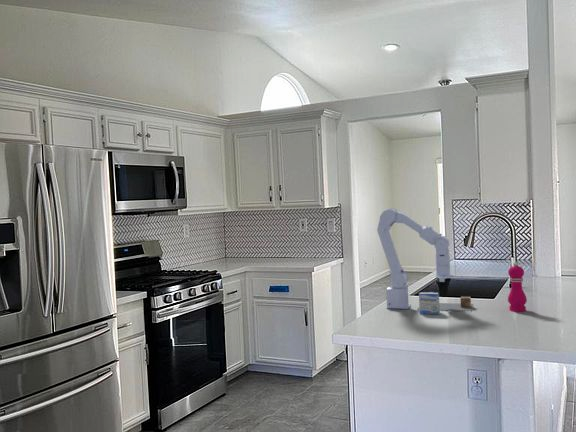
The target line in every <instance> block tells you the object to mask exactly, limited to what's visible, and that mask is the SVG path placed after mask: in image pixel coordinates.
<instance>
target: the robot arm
mask: <svg viewBox="0 0 576 432" xmlns="http://www.w3.org/2000/svg"><path fill="white" fill-rule="evenodd" d="M395 223H397V224H403V225H405V226H407V227H409V228H410V229H412V230H413V231H415V232H416V233H418V235H419V237H420V238H421V239H422V240H424V241H425V242H427V243H428V244H430V245H431V246H434V248H435V267H436V268H435V269H436V275H435V278H437V280H436V281H435V283H436V285H437V287H438V290H439V296H440V297H441V298H447V296H448V293H449V287H450V283H451V280H452V278H453V277H454V274H451V259H450V250H449V246H450V241H449V239H448V238H447V237H446V236H445V235H444V236H443V234H442V233H439V232H437V231H435V229H433V227H432V226H423V225H421V224H420V223H418V222H416V220H414V219H412V218H411V217H410V216H408V215H406V214H405V213H403V212H402V211H400V210H397V209H396V208H386V209H385V210H383V211H382V212H381V214H380V215H379V220H378V225H377V228H376V229H377V230H376V231H377V234H378V237H379V240H380V242H381V246H382V249H383V252H384V255H385V258H386V261H387V264H388V267H389V274H390V284H391V285H390V286H389V287H387V288H386V292H385V295H386V309H401V310H402V309H403V310H404V309H405V310H407V309H409V308H410V307H411V304H410V302H409V285H407V284H408V283H407V282H408V279H409V276H408V274H407V273H406V272H405V270H404V268H403V266H402V264H401V262H400V259H399V257H398V253H397V250H396V247H395V245H394V242H393V241H394V240H393V239H392V236H391V233H390V230H391V229H392V227H393V225H394V224H395ZM451 277H452V278H451Z"/></svg>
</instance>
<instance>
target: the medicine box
mask: <svg viewBox="0 0 576 432" xmlns="http://www.w3.org/2000/svg"><path fill="white" fill-rule="evenodd" d="M418 303H419V305H418V308H419V310H418V311H419V312H418V313H419V314H420V315H439V314H440V312H441V311H440V307H439V303H440V292H433V293H427V292H425V291H424V292H423V291H422V292H419V293H418Z"/></svg>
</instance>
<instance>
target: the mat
mask: <svg viewBox="0 0 576 432" xmlns="http://www.w3.org/2000/svg"><path fill="white" fill-rule="evenodd" d="M439 307H440V312H441V311H442V312H465V311H471V312H472V311H473V309H472V308H473V303H471V308H462V307H461V303H452V302H451V303H450V302H449V303H447V302H439ZM416 310H417V311H419V307H417V309H416Z"/></svg>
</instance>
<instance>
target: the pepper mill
mask: <svg viewBox="0 0 576 432" xmlns="http://www.w3.org/2000/svg"><path fill="white" fill-rule="evenodd" d="M507 271H508V276H510V278H509V281H510V284H511V288H510V291H509V294H508V296H507V302H508V304H510V305H509V311H510V312H515V313H523V312H526V310H527V309H526V308H527V305H526V304H527V302H528V299H527V295H526V294H525V292H524V289H523V282H524V278H523V276H524V274H525V270H524V269H523V268H522V266H519V262H516V261H515V262H513V266H510V267H509V269H508V270H507ZM525 305H526V306H525Z"/></svg>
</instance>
